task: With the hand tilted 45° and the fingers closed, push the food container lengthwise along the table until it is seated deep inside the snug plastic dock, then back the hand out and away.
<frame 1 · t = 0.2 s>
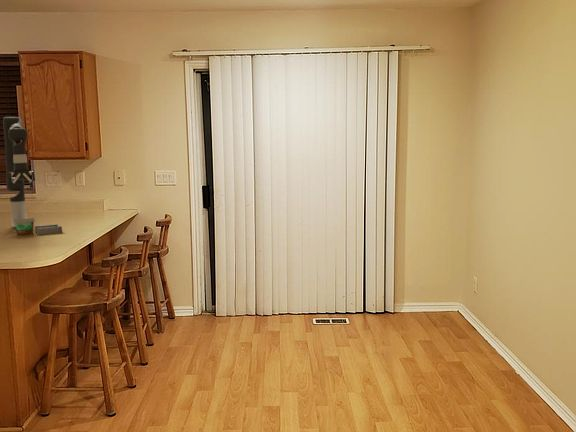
hand: (22, 188, 360), 29 cm above the table, tool pointing down, fingers open, 8 cm apart
dock: (48, 232, 376), on the table
food container: (24, 235, 370), on the table
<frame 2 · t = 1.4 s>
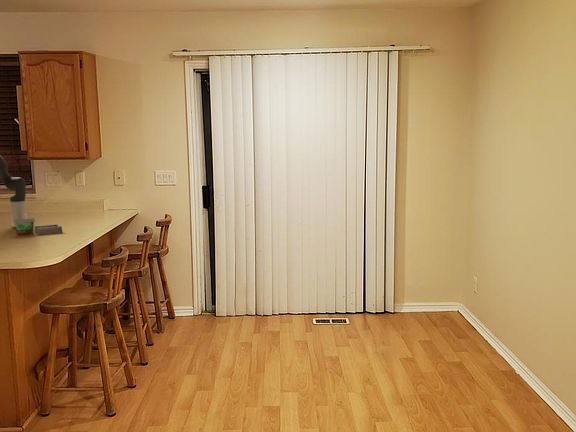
nothing on the table moved.
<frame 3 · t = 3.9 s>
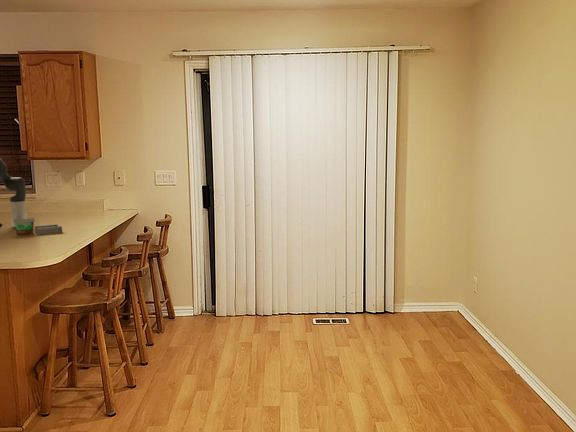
hand: (1, 226, 363), 6 cm above the table, tool tilted 45°, fingers closed
nothing on the table moved.
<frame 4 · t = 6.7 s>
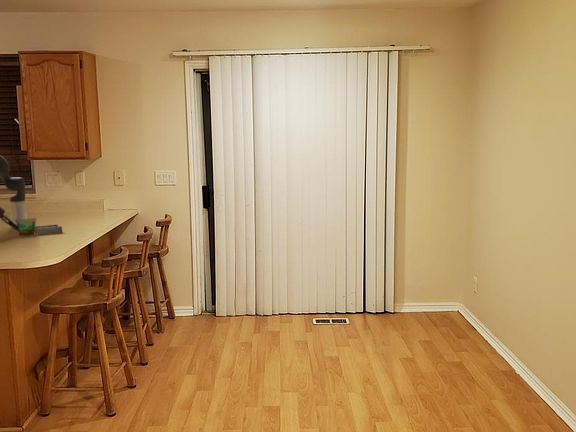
hand: (18, 228, 368), 4 cm above the table, tool tilted 45°, fingers closed
food container: (25, 234, 370), on the table, touching gripper
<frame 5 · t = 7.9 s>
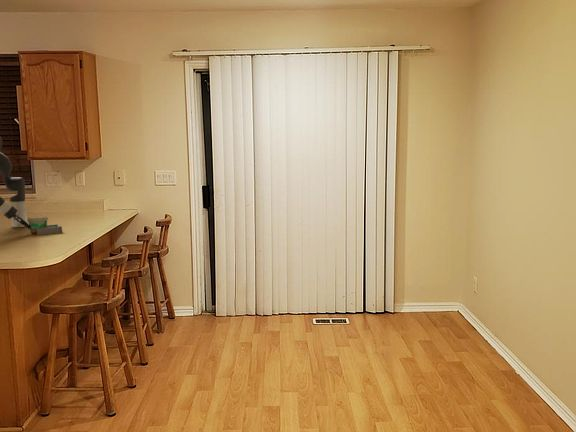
hand: (30, 227, 371), 4 cm above the table, tool tilted 45°, fingers closed
food container: (37, 233, 373), on the table, touching gripper
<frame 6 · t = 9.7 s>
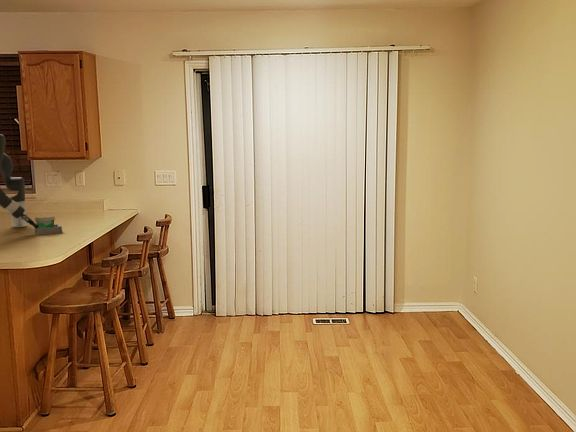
hand: (37, 227, 373), 4 cm above the table, tool tilted 45°, fingers closed
food container: (44, 233, 375), on the table, touching gripper
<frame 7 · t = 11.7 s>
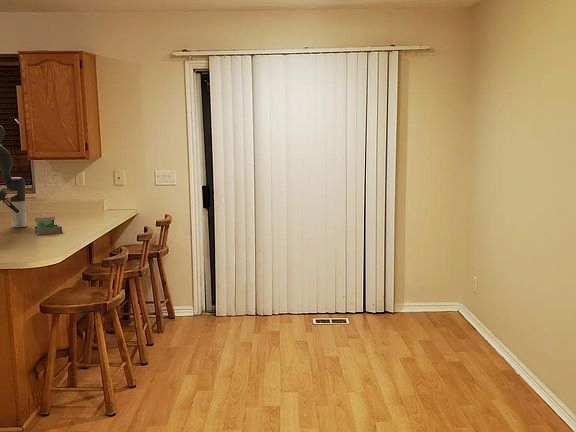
hand: (18, 212, 369), 14 cm above the table, tool tilted 40°, fingers closed
food container: (44, 233, 375), on the table
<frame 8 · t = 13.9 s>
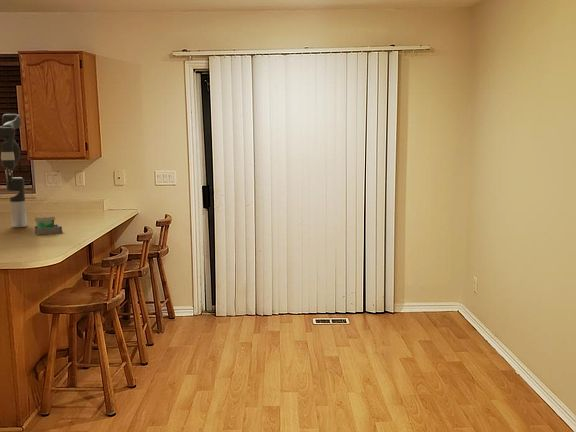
hand: (10, 187, 373), 29 cm above the table, tool pointing down, fingers closed
nothing on the table moved.
at the end: food container 1.5 cm off-centre on the dock, point 0.0 cm above the dock's base; food container tilted 0°; the gripper is holding nothing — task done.
